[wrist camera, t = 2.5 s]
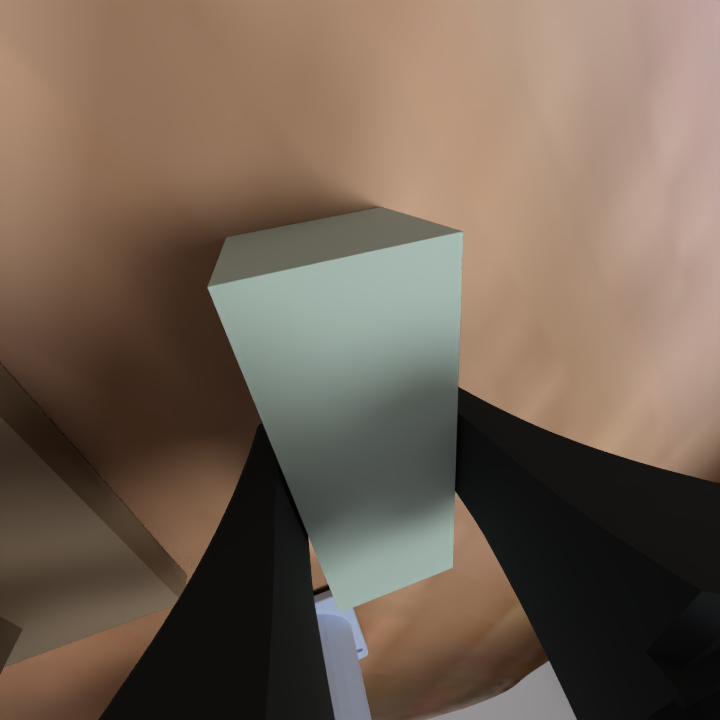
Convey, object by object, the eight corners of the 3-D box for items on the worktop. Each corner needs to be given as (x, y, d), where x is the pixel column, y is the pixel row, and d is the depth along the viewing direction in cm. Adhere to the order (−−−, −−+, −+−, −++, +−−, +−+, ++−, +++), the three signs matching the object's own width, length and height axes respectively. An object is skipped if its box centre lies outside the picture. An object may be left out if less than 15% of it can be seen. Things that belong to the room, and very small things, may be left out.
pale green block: (406, 476, 14) (452, 567, 11) (318, 506, 14) (339, 612, 10) (381, 206, 9) (463, 231, 5) (226, 237, 8) (207, 286, 5)
